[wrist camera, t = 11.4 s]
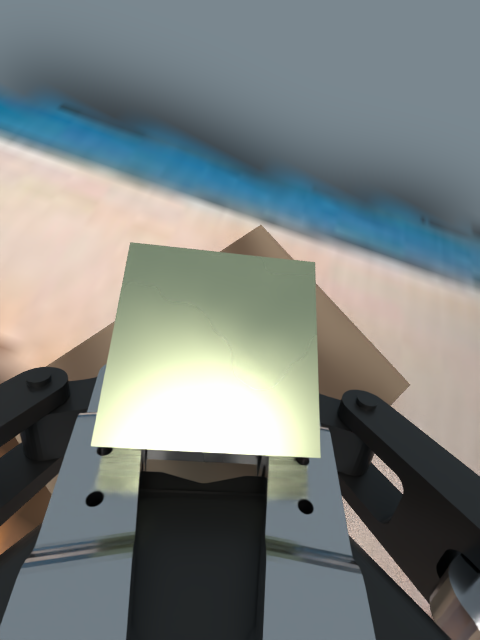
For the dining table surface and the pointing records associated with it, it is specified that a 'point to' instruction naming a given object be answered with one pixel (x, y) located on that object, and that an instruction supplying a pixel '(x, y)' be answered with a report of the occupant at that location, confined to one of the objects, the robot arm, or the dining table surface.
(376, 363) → the serving board
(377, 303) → the dining table surface
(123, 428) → the square capped column
